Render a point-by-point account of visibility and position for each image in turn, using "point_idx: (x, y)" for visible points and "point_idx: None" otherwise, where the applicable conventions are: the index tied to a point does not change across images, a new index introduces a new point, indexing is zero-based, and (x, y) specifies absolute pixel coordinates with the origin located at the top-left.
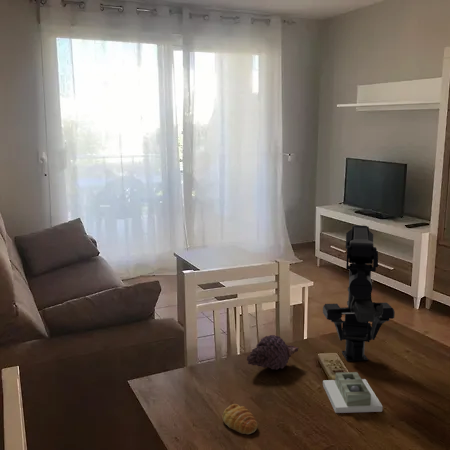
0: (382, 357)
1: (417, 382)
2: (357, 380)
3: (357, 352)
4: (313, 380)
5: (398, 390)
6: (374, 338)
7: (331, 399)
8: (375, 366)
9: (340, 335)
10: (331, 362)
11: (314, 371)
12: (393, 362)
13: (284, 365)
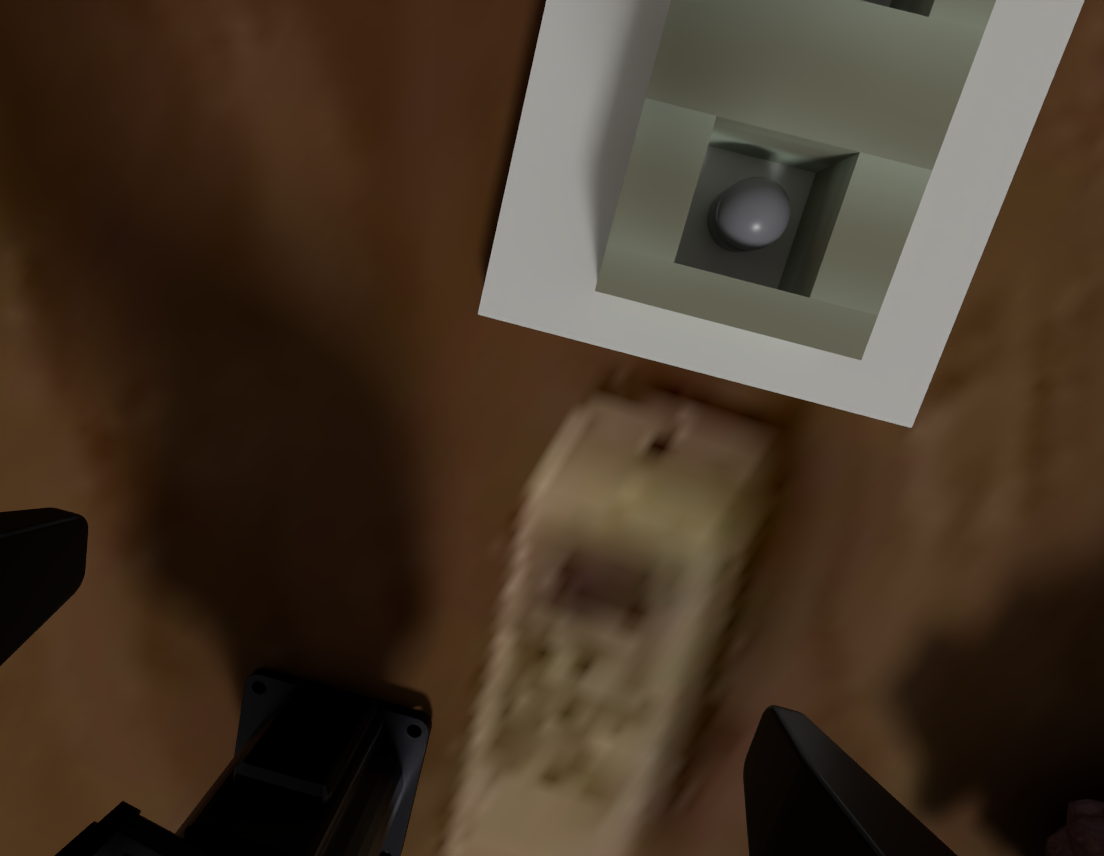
0: (106, 676)
1: (5, 189)
2: (713, 81)
3: (316, 742)
4: (917, 523)
5: (243, 103)
6: (25, 513)
7: (1060, 41)
8: (237, 564)
9: (876, 804)
10: (573, 746)
11: (810, 661)
12: None
13: (1098, 803)
